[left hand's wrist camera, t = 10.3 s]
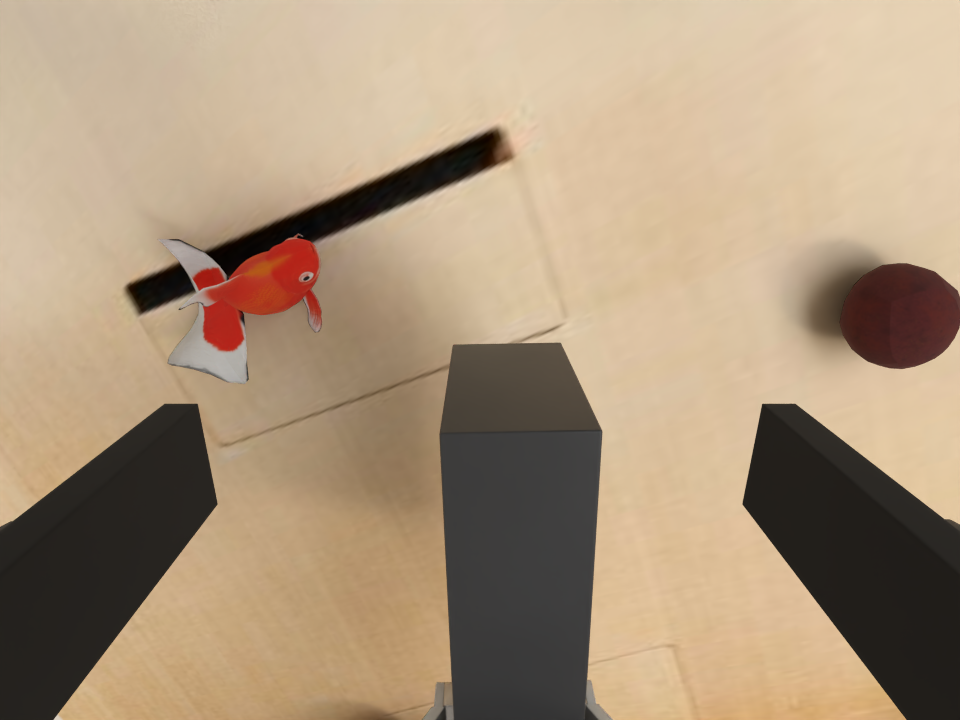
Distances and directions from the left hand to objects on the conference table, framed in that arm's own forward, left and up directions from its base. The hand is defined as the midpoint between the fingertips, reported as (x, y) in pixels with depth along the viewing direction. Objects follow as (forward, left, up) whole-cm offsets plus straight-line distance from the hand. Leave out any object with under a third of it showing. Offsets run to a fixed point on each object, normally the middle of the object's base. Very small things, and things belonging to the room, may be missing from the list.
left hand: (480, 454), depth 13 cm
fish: (+8, -16, -31) cm, 36 cm away
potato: (-4, +31, -31) cm, 44 cm away
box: (+14, +6, -19) cm, 24 cm away
